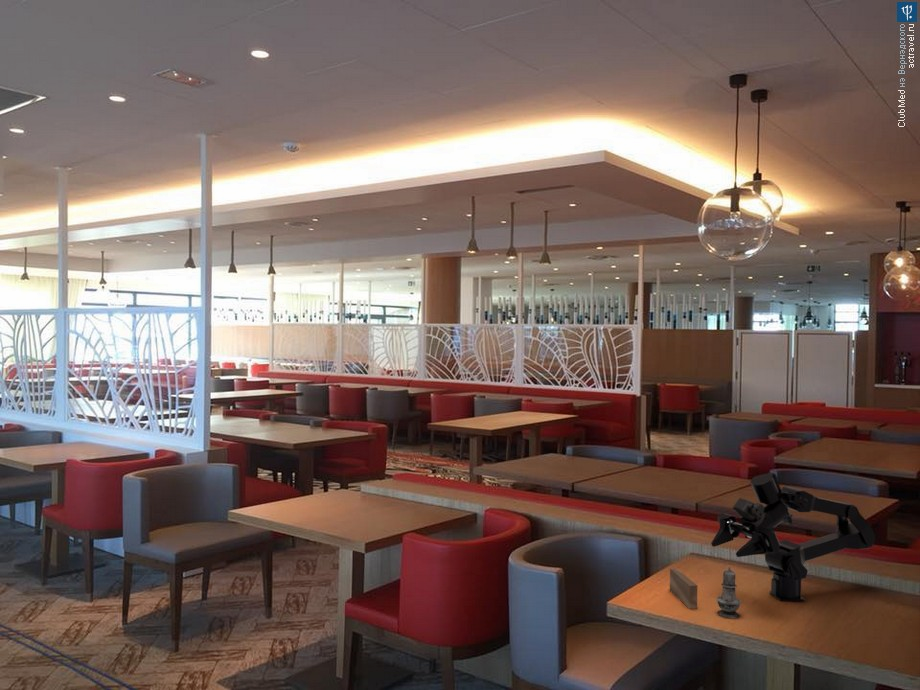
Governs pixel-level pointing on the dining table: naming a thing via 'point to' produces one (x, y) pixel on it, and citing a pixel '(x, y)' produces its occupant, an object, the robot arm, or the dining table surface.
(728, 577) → the salt shaker
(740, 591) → the dining table surface
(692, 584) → the walnut board
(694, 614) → the dining table surface
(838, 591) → the dining table surface
